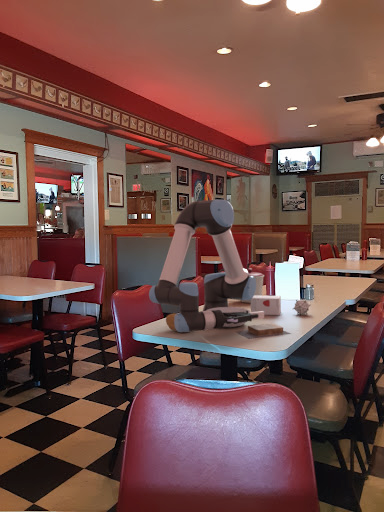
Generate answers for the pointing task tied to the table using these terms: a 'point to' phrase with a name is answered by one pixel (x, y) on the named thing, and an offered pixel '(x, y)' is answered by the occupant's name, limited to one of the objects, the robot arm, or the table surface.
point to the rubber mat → (251, 335)
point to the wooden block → (265, 329)
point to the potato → (171, 321)
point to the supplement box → (266, 304)
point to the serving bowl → (230, 309)
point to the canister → (258, 283)
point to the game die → (301, 307)
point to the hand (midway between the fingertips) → (263, 314)
